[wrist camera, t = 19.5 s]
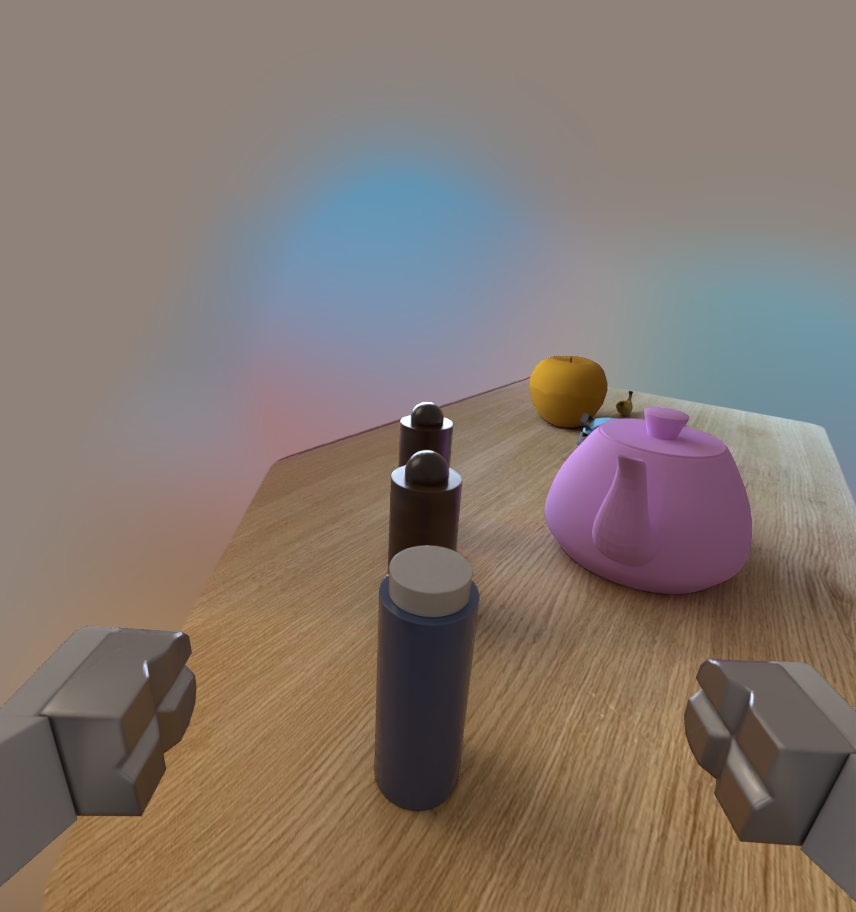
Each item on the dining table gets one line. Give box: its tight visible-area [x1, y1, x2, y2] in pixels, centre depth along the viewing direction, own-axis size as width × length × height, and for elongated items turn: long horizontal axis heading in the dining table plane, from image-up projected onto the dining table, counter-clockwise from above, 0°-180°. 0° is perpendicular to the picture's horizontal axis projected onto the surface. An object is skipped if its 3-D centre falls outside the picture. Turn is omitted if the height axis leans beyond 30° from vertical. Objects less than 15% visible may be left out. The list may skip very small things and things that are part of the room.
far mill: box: [399, 402, 453, 468], centre depth 47 cm, size 5×5×13 cm
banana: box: [616, 391, 633, 416], centre depth 92 cm, size 10×2×4 cm, turn 150°
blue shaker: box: [374, 545, 479, 810], centre depth 23 cm, size 4×4×12 cm
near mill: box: [388, 450, 462, 574], centre depth 35 cm, size 5×5×13 cm
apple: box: [529, 356, 607, 428], centre depth 84 cm, size 13×13×11 cm
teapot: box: [545, 407, 752, 594], centre depth 44 cm, size 25×18×14 cm
